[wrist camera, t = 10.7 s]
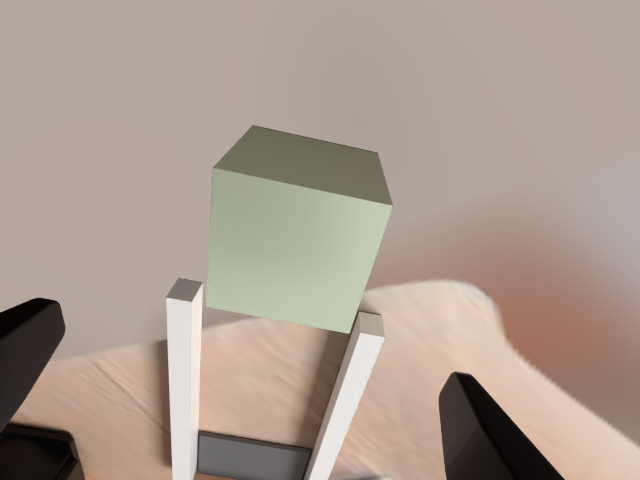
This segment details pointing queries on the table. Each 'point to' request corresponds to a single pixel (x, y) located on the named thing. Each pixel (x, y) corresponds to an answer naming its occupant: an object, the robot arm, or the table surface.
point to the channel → (186, 382)
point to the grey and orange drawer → (248, 459)
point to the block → (295, 228)
